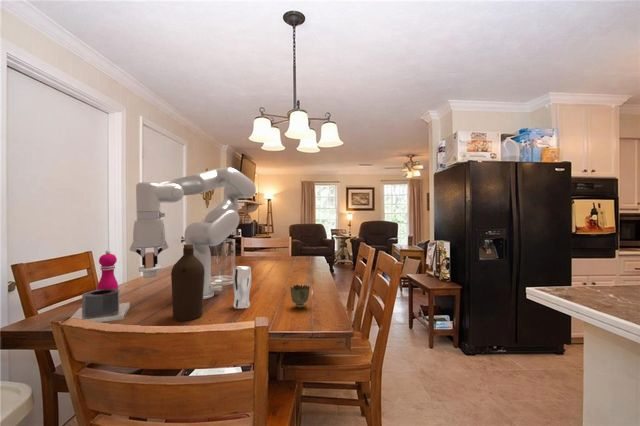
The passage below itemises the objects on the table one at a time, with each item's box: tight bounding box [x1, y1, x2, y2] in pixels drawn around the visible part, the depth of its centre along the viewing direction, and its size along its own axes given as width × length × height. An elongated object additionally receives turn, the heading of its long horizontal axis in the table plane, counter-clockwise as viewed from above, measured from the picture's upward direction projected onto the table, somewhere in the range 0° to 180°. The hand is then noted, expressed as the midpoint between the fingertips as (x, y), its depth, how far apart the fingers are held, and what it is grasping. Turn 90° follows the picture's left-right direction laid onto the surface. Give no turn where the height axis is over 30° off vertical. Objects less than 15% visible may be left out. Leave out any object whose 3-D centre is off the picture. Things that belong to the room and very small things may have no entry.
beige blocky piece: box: [138, 251, 162, 279], centre depth 109 cm, size 7×7×8 cm
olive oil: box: [170, 243, 205, 322], centre depth 103 cm, size 11×11×25 cm
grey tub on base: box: [70, 288, 131, 323], centre depth 103 cm, size 15×15×8 cm
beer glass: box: [232, 265, 252, 310], centre depth 114 cm, size 7×7×15 cm
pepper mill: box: [96, 249, 119, 290], centre depth 123 cm, size 7×7×20 cm
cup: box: [289, 284, 311, 309], centre depth 114 cm, size 8×7×8 cm
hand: (150, 266), depth 109 cm, fingers closed on beige blocky piece
